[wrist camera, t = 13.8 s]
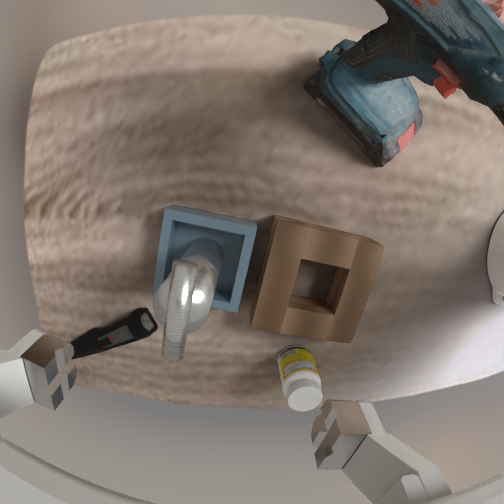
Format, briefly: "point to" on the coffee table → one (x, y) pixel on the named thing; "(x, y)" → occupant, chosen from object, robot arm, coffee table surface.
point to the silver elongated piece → (187, 295)
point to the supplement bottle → (299, 378)
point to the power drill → (412, 69)
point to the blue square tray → (218, 229)
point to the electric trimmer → (115, 334)
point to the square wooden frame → (307, 309)
